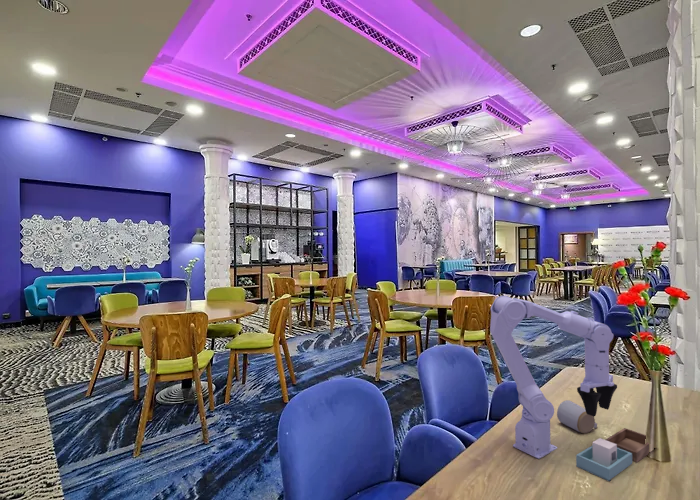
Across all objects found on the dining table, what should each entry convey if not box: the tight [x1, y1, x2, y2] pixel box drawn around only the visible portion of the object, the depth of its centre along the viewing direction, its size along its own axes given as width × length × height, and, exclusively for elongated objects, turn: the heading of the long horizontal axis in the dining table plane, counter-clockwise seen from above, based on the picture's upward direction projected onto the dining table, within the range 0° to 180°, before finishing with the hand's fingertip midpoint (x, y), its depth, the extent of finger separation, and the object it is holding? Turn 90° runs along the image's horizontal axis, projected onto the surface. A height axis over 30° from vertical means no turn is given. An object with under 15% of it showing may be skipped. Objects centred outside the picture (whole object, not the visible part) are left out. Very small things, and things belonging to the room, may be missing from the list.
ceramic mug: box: [556, 399, 598, 434], centre depth 118 cm, size 11×8×8 cm
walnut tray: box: [604, 427, 650, 463], centre depth 104 cm, size 13×8×3 cm, turn 122°
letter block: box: [591, 437, 617, 467], centre depth 97 cm, size 4×4×6 cm
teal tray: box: [575, 445, 633, 482], centre depth 97 cm, size 13×8×3 cm, turn 122°
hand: (597, 411), depth 106 cm, fingers open, 7 cm apart
